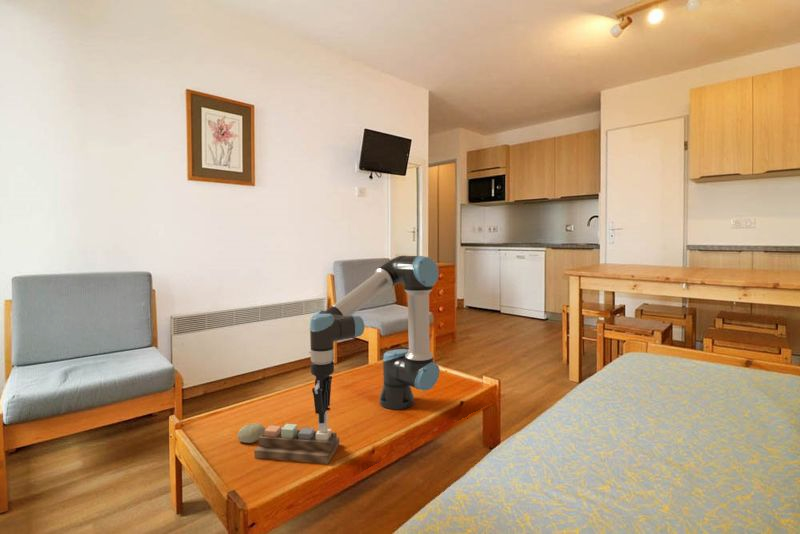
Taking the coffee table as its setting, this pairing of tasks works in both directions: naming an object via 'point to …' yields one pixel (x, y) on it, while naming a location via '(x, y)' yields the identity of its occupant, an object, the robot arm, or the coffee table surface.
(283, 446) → the brown stepped piece
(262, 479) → the coffee table surface
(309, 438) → the slate key
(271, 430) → the terracotta key
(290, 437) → the sage key
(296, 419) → the coffee table surface
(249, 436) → the sea urchin shell
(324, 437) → the ivory key
